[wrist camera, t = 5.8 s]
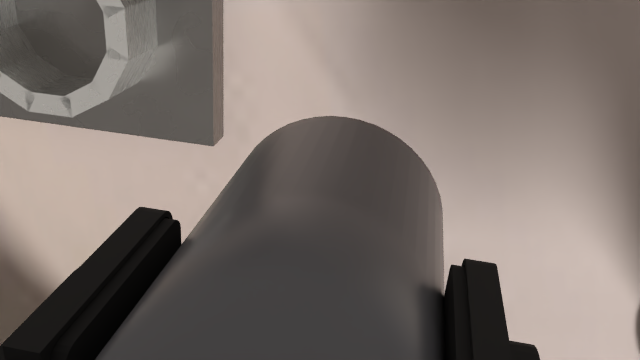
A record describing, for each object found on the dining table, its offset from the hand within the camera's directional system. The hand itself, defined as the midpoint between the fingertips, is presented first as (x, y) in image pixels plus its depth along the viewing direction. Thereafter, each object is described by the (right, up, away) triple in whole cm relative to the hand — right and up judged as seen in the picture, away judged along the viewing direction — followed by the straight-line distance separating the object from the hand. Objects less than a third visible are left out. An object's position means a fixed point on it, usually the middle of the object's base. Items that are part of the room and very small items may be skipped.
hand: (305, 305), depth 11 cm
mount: (-11, +11, +19) cm, 25 cm away
